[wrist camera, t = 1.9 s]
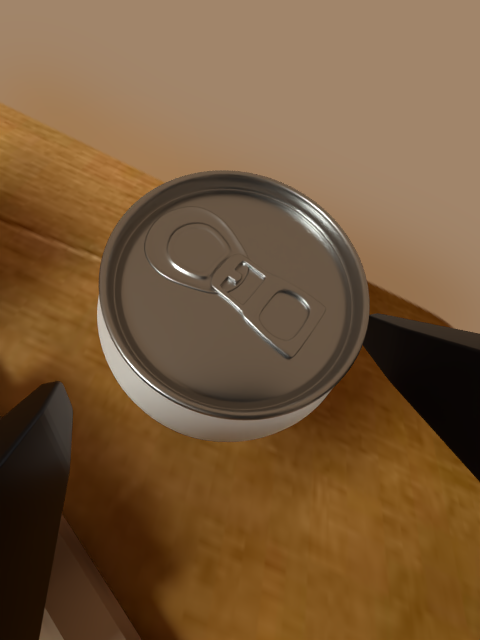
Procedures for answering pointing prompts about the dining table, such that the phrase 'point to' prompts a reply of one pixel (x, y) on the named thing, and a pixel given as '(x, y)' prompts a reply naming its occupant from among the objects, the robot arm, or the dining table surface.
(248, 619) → the dining table surface
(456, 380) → the robot arm
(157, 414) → the can
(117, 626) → the slot block
